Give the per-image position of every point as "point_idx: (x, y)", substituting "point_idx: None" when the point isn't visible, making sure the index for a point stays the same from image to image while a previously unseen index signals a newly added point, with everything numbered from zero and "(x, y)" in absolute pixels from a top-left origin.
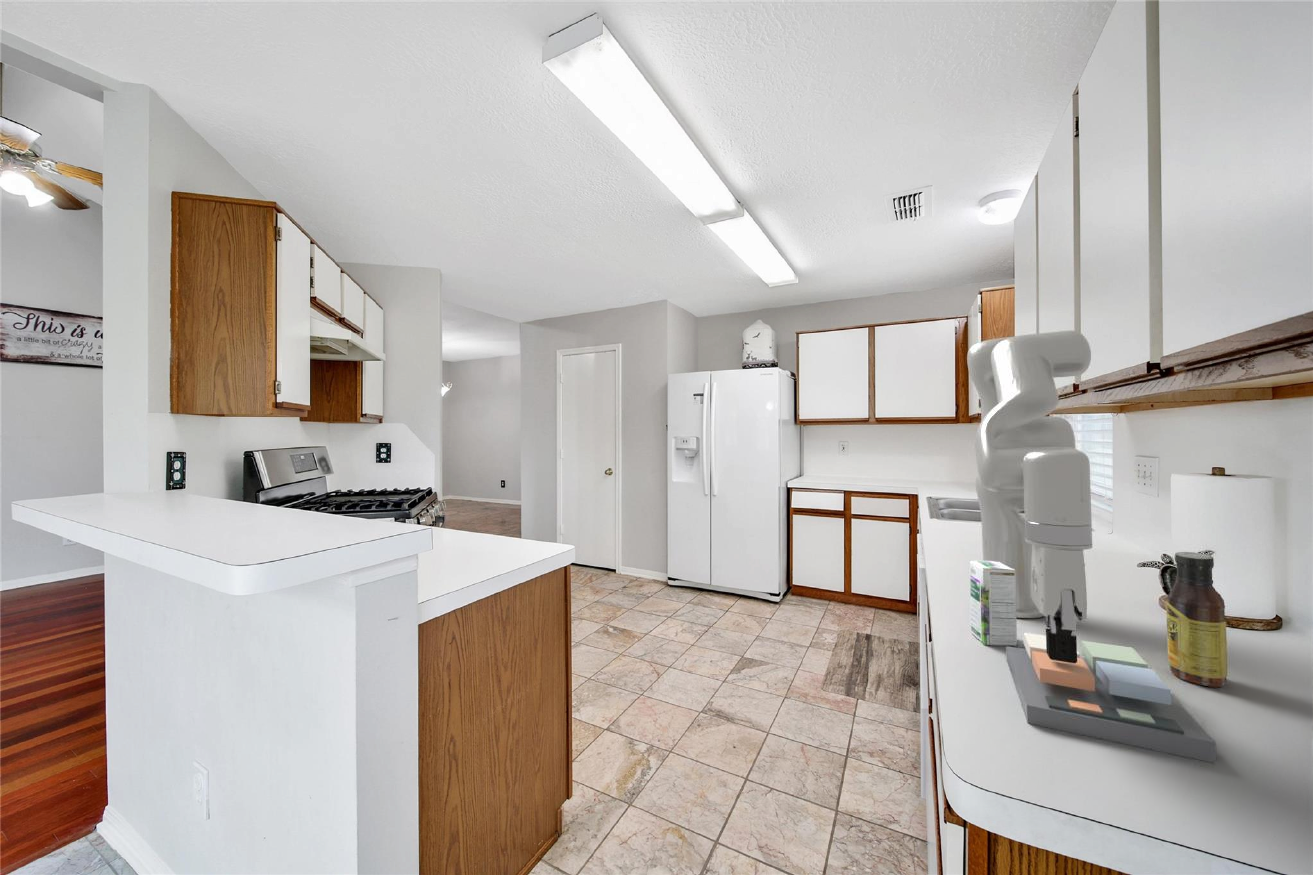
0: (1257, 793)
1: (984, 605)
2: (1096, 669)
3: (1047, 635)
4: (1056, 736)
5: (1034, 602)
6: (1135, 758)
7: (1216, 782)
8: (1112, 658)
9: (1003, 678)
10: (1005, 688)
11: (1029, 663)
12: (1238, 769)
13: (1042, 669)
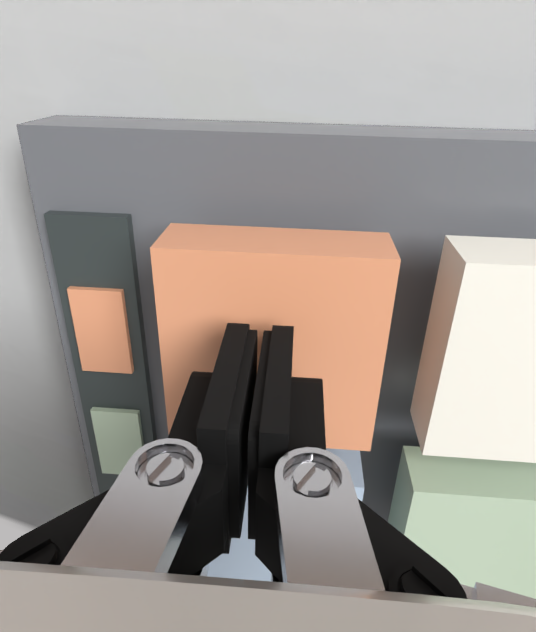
0: (41, 508)
1: None
2: (353, 458)
3: (231, 404)
4: (22, 195)
5: (304, 608)
6: (34, 362)
7: (36, 467)
8: (414, 541)
9: (451, 83)
10: (339, 75)
11: (503, 226)
12: None
13: (154, 257)
